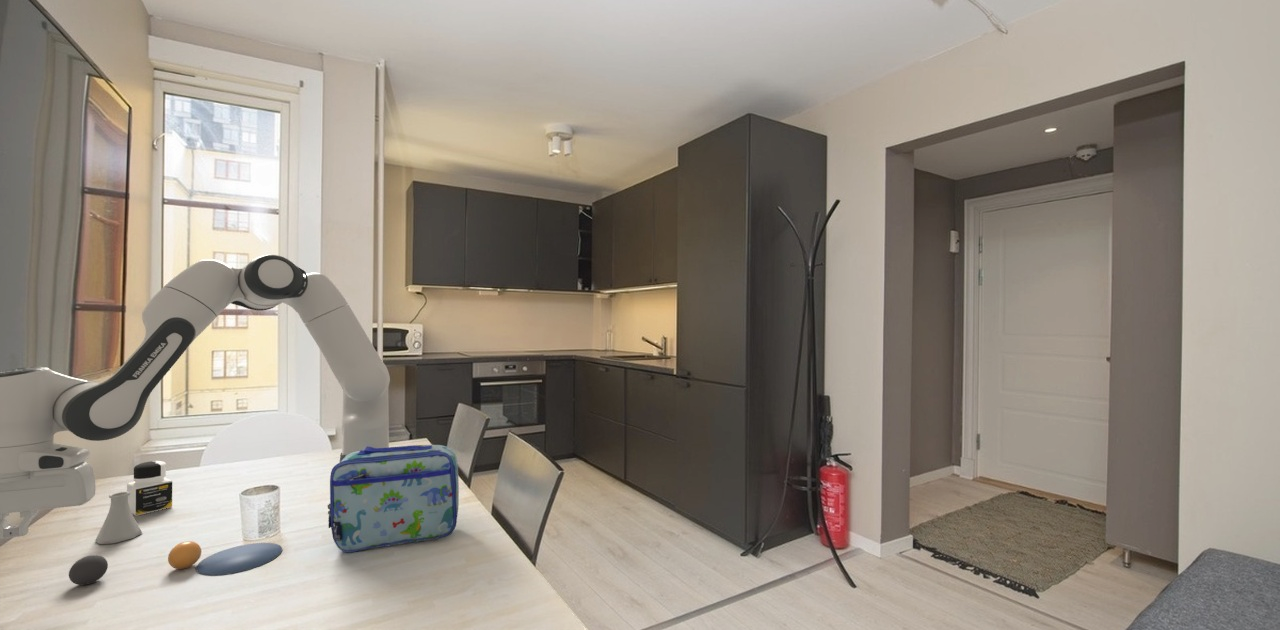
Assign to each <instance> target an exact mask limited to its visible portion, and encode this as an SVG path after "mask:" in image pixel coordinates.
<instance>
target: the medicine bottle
mask: <svg viewBox="0 0 1280 630" xmlns="http://www.w3.org/2000/svg"><path fill="white" fill-rule="evenodd" d="M166 468H167V463H166V462H165V461H161V460H152V461H146V462H145V461H144V462H141V463H139V464H137V465H134V467H133V481H130V482H128V483H127V484H126V492H130V495H128V504H129V508H130V510H131V513H132V515H133V516H135V517H138V516H142V515H146V513H147V514H150V512H151V513H155V512H159V511H163V510H167V509H171V508H173V480H171V479H169V478H168V477H167V476H166V474H167V469H166ZM166 508H167V509H166ZM162 509H163V510H162ZM158 510H159V511H158ZM154 511H155V512H154Z"/></svg>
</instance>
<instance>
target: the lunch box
mask: <svg viewBox="0 0 1280 630" xmlns="http://www.w3.org/2000/svg"><path fill="white" fill-rule="evenodd" d="M458 465H459V464H458V458H457V454H456V453H455V451H454V450H453V449H452V448H451V447H448V446H446V445H441V444H416V445H415V444H414V445H401V446H400V445H399V446H391V447H390V446H389V447H388V448H373V447H369V446H367V447H366V448H365V450H361V451H356V452H353V453H350V454H348V455H347V456H345V457H344V458H343V460H342V461H341V462H340V461H339V462H338V463H337V464H335V465H334V466H333V467H332V469H331V471H330V477H329V499H330V501H329V503H328V504H327V509H328V511H327V515H328V521H327V522H328V529H330V528H331V535H332V538H333V539H332V540H333V541H334V542H333V543H334V544H335V545H336V547H337V548H338V549H339V550H340V551H342V552H343V553H347V552H349V553H354V552H359V551H363V550H368V549H374V548H382V547H389V546H388V545H390V546H394V545H395V544H397V545H401V544H402V543H403V544H410V543H409V542H411V543H416V541H418V542H424V541H431V540H436V539H442V538H445V537H446V538H447V537H449V536H450V535H451V534H452V533H453V532H454V531H455V529H456V526H457V523H458V522H457V520H458V513H459V501H460V499H459V497H460V496H459V493H460V491H459V489H460V487H459V483H460V482H459V467H458ZM395 546H396V545H395Z"/></svg>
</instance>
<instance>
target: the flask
mask: <svg viewBox="0 0 1280 630" xmlns="http://www.w3.org/2000/svg"><path fill="white" fill-rule="evenodd" d="M128 495H130V492H127V491H119V492H114V493H111V494H110V495H108V498H109V499H110V505H109V510H108V513H107V516H106V518H105V519H104V522H103V524H102V526H101V528H100V531H99V532H98V534H97V536H96V538H95V543H98V544H99V545H107V544H118V543H120V542H123V541H124V542H125V541H128V540H131V539H134V538H135V537H138V536H139V535H142V534H143V531H142V530H141V528H140V525H139V524H138V523H137V521H136V519H135V517H134V514H132V513H131V510H130V508H129V504H128Z"/></svg>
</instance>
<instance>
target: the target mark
mask: <svg viewBox="0 0 1280 630" xmlns="http://www.w3.org/2000/svg"><path fill="white" fill-rule="evenodd" d="M282 552H283V548H282V546H281V545H280V544H277V543H275V542H274V543H273V542H257V543H256V542H255V543H247V544H242V545H237V546H234V547H229V548H227V549H223V550H221V551H218V552H215V553H213V554H210V555H209V556H207V557H205V558H203V559H202V560H200V562H198V563H197V565H196V569H195V570H196V572H197V573H199V574H200V575H204V576H224V575H225V576H226V575H229V574H231V575H232V574H236V573H241V572H245V571H248V570H252V569H254V568H255V569H256V568H258V567H260V566H263V565H265V564H268V563H269V562H272V561H273V560H275V559H276V558H278V557H279V556H280V555H281V554H282Z"/></svg>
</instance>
